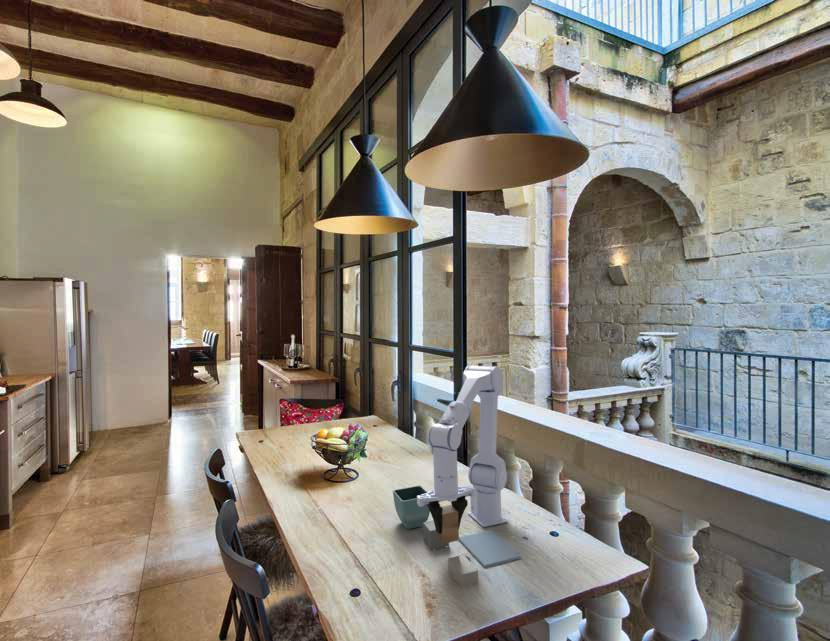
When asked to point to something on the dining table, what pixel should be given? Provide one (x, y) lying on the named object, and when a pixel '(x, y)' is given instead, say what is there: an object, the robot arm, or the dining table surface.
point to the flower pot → (410, 506)
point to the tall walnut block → (449, 525)
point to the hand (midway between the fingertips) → (447, 529)
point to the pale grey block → (463, 570)
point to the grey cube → (432, 536)
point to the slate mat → (489, 548)
